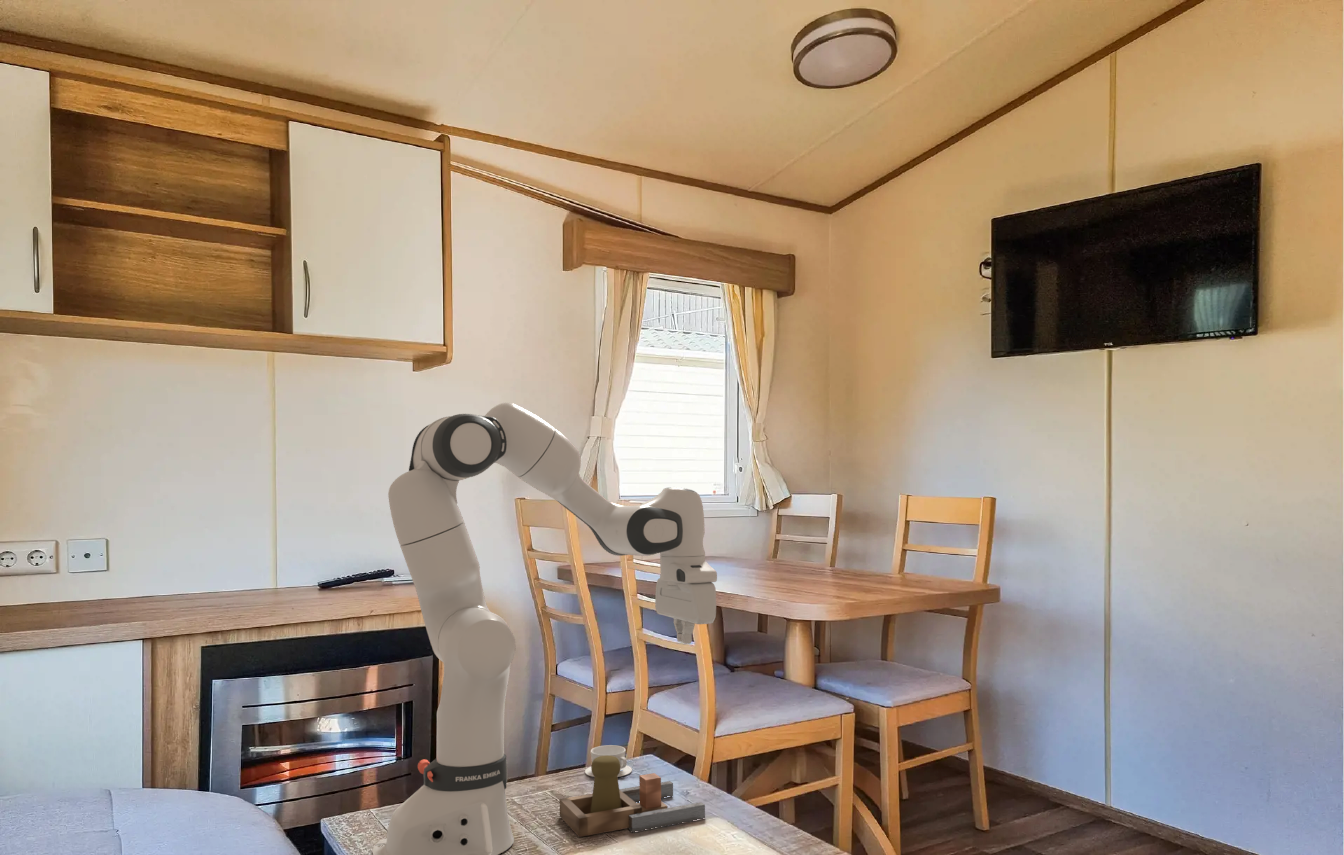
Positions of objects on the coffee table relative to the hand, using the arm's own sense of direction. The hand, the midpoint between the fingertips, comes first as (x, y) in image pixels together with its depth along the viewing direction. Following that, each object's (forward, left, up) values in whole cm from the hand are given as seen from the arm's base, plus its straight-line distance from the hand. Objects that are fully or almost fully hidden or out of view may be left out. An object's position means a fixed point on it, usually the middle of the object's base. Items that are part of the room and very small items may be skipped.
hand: (684, 642), depth 167 cm
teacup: (-8, +23, -30) cm, 38 cm away
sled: (-16, -4, -29) cm, 33 cm away
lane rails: (-9, -4, -29) cm, 31 cm away
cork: (-18, -4, -29) cm, 35 cm away
